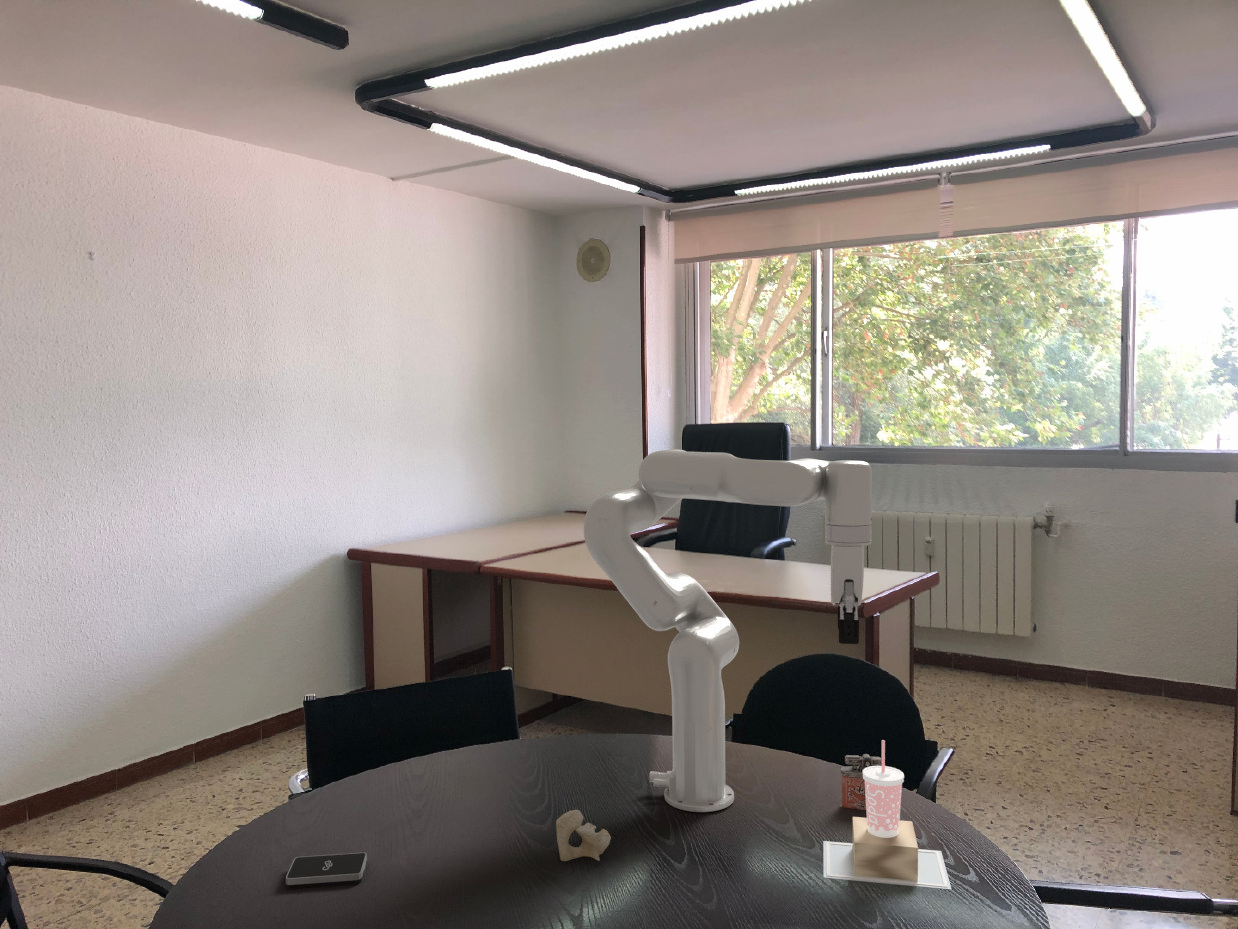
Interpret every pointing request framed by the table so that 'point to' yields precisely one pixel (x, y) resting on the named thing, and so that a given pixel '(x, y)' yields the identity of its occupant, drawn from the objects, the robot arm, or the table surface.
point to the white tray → (842, 867)
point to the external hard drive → (326, 870)
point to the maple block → (885, 852)
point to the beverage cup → (883, 798)
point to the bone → (591, 840)
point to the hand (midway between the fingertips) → (847, 636)
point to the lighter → (856, 780)
